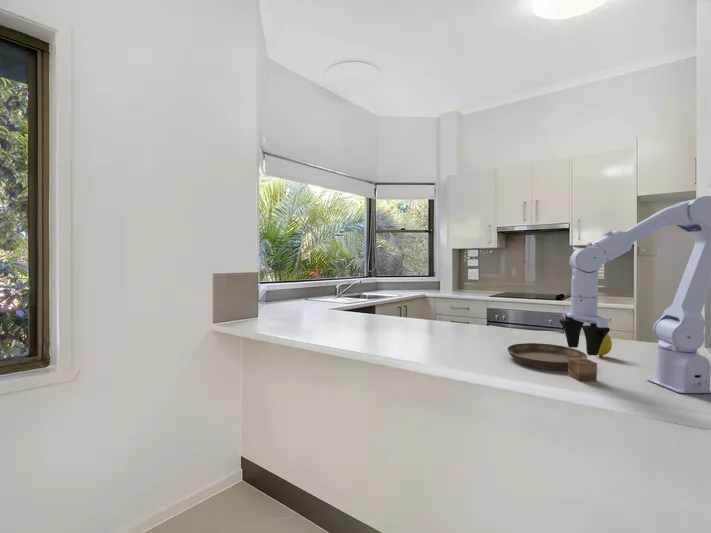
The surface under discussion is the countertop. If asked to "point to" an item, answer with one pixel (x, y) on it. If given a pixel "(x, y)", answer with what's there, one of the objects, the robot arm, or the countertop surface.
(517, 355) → the plant saucer
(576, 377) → the walnut block
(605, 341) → the lemon
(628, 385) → the countertop surface
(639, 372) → the countertop surface
